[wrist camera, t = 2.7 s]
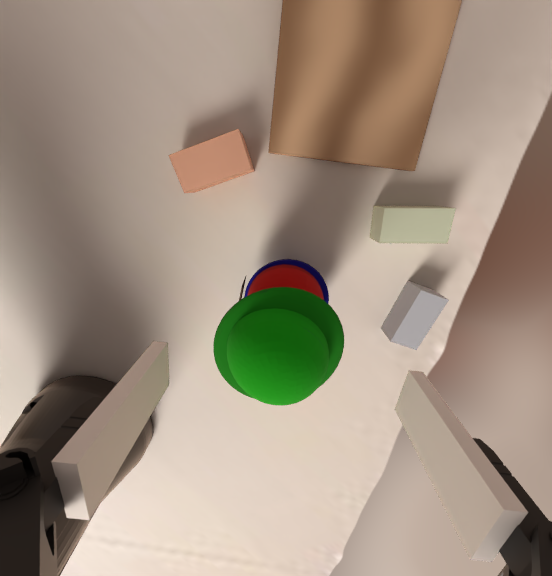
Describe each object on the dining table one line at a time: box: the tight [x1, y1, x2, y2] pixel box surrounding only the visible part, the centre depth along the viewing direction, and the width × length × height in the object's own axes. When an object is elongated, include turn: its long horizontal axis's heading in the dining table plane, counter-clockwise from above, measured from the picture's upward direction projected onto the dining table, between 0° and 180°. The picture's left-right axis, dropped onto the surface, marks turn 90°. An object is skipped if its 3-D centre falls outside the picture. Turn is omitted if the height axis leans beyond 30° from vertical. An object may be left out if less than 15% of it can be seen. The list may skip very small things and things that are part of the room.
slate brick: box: [381, 281, 449, 350], centre depth 28 cm, size 6×3×3 cm, turn 160°
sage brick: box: [370, 206, 456, 244], centre depth 24 cm, size 6×3×3 cm, turn 90°
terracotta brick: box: [169, 129, 254, 193], centre depth 23 cm, size 6×3×3 cm, turn 108°
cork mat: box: [269, 0, 462, 171], centre depth 21 cm, size 13×13×1 cm
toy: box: [214, 259, 344, 405], centre depth 21 cm, size 9×9×15 cm
